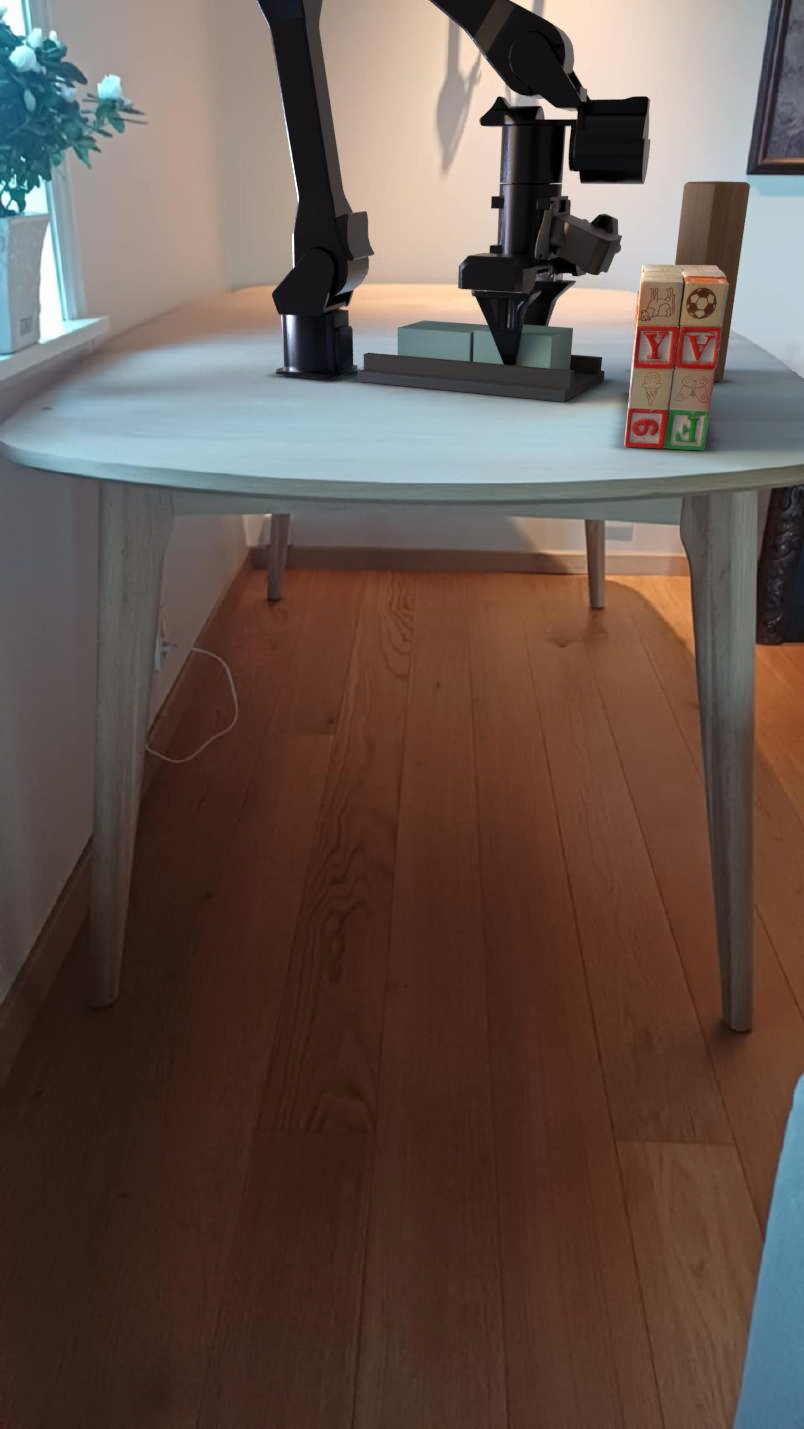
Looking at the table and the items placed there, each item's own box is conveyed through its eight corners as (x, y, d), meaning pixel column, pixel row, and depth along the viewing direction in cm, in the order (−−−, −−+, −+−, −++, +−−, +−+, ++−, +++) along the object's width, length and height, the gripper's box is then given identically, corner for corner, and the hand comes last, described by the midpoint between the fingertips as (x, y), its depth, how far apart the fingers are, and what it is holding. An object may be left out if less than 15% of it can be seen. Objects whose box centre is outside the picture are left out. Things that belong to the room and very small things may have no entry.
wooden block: (633, 370, 111) (652, 180, 103) (666, 367, 113) (688, 180, 105) (689, 385, 104) (715, 182, 96) (724, 381, 106) (752, 182, 98)
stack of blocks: (627, 393, 100) (641, 254, 95) (694, 396, 99) (713, 255, 94) (623, 447, 82) (640, 278, 76) (706, 451, 81) (730, 279, 75)
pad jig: (357, 381, 106) (356, 329, 104) (411, 363, 115) (411, 315, 113) (564, 402, 97) (568, 345, 95) (604, 380, 106) (608, 328, 104)
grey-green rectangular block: (472, 373, 103) (473, 330, 101) (496, 363, 108) (497, 322, 106) (549, 380, 100) (552, 336, 98) (570, 370, 105) (573, 328, 103)
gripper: (582, 187, 85) (567, 384, 93) (645, 183, 100) (628, 353, 107) (457, 185, 90) (453, 373, 97) (535, 181, 105) (526, 345, 112)
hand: (521, 361), depth 103 cm, fingers closed on grey-green rectangular block, 6 cm apart
